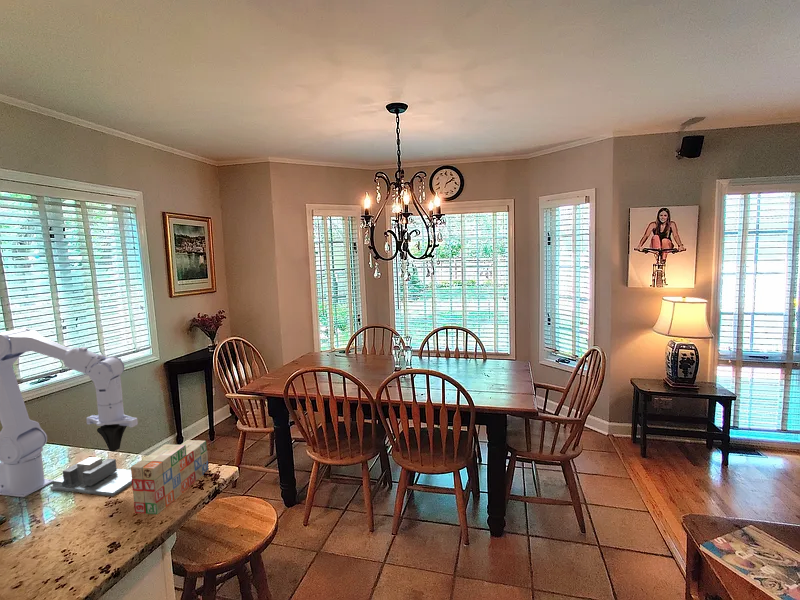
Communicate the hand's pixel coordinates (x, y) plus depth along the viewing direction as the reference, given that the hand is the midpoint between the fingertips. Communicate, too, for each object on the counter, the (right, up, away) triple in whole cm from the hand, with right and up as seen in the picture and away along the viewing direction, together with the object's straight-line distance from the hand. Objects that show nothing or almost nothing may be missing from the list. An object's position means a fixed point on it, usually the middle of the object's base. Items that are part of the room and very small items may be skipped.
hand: (114, 449), depth 114 cm
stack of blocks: (+18, -10, -2) cm, 21 cm away
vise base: (-6, -10, +2) cm, 12 cm away
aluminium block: (-8, -9, +3) cm, 13 cm away
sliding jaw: (-5, -9, +2) cm, 10 cm away
